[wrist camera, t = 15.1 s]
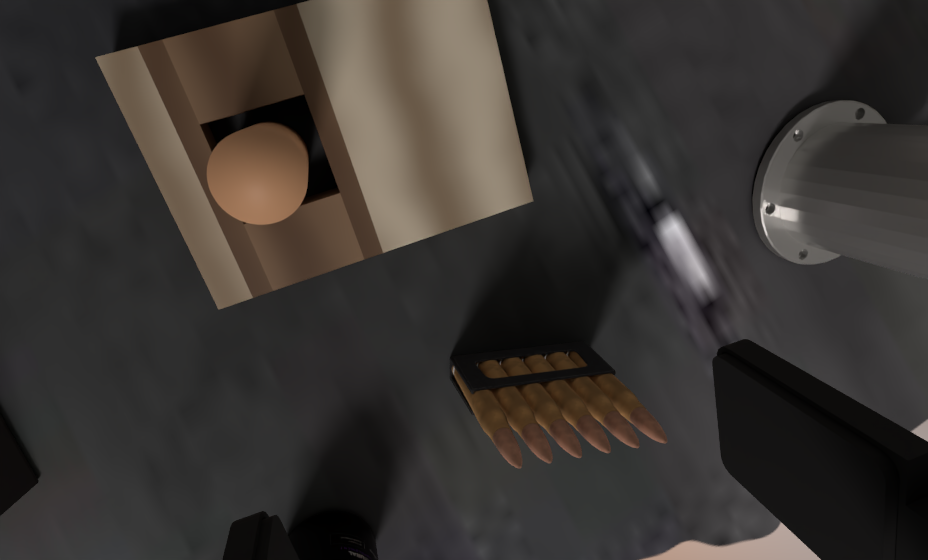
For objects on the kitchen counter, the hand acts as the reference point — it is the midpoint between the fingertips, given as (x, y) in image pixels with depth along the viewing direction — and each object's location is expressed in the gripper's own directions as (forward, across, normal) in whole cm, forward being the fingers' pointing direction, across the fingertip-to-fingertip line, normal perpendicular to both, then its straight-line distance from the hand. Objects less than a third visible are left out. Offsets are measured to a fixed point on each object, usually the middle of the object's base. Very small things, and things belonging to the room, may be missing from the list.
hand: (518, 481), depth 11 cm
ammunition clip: (+26, -6, +13) cm, 30 cm away
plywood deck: (+26, +1, -6) cm, 27 cm away
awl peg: (+26, +6, -6) cm, 27 cm away
